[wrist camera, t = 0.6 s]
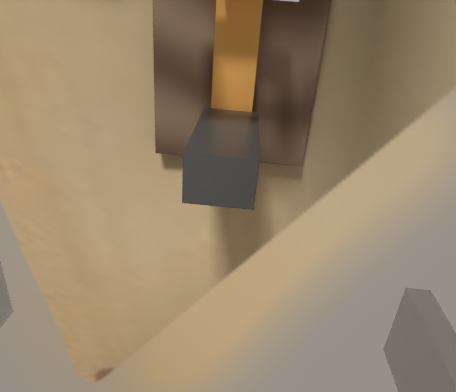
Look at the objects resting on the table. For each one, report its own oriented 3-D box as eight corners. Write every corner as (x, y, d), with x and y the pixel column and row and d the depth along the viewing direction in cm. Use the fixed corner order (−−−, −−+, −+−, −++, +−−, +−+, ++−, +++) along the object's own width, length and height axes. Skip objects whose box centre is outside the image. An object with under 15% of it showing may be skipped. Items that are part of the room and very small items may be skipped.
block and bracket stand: (196, -29, 25) (162, -41, 16) (288, -22, 25) (305, -30, 16) (190, 158, 31) (164, 223, 22) (265, 165, 31) (268, 233, 22)
